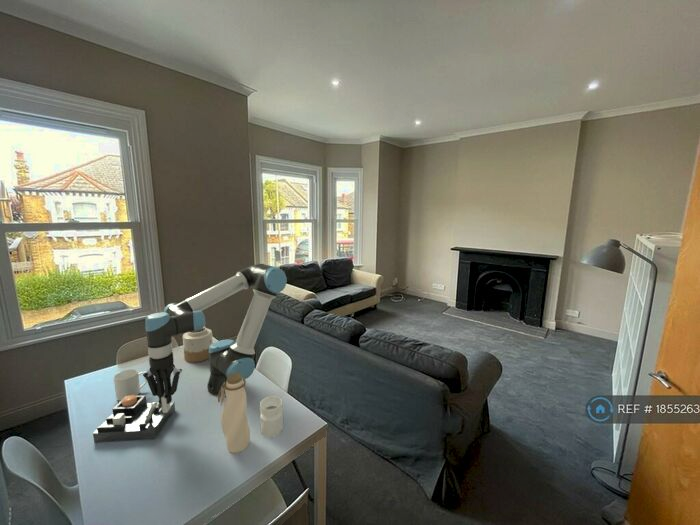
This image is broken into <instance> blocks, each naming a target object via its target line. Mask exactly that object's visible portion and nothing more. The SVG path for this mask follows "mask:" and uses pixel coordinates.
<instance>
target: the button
mask: <svg viewBox="0 0 700 525" xmlns="http://www.w3.org/2000/svg"><path fill="white" fill-rule="evenodd" d="M137 396H138V395H137ZM137 396H136V395H131V396H127V397H125V398H124V399H123V400H122V406H123V407H131V406H134V405H135V404H136V403H137Z"/></svg>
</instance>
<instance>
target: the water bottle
mask: <svg viewBox="0 0 700 525" xmlns="http://www.w3.org/2000/svg"><path fill="white" fill-rule="evenodd" d="M246 384H247V381H246V379H243V378H242V375H241V374H240V373H233V374H230V375H229V376H228V377H227V382H226V383H225V382H224V383H223V385H222V387H221V389H220V391H219V394H218V395H217V402H218V403H220V407H222V406H223V407H222V409H221V415H220V416H221V417H220V425H221V429H222V433H223V435H224V438H225V443H226V449H227V451H228V452H229V453H233V454H236V453H241V452H243V451H244V450H245V449H247V447H248V446H249V444H250V439H251V438H250V437H251V428H250V424H249V421H248V418H247V393H246V392H247V391H246V389H245V385H246ZM224 389H225V394H224ZM220 393H221V395H220ZM225 397H226V398H225ZM224 401H225V402H224Z"/></svg>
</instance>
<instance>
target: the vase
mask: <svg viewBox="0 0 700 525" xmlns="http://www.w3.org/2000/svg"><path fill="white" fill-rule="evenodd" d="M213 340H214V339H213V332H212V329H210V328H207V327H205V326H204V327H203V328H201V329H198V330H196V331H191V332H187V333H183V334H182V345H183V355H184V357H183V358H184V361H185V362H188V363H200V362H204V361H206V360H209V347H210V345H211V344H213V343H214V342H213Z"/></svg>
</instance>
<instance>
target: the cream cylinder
mask: <svg viewBox="0 0 700 525" xmlns="http://www.w3.org/2000/svg"><path fill="white" fill-rule="evenodd" d="M259 412H260V414H259V415H260V416H259V417H260V422H259V423H260V425H259V426H260V434H261V435H262V436H263V437H266V438H273V436H274V437H276V436H279V434H281V432H282V431H283V426H284V424H283V423H284V422H283V421H284V416H283V400H282V398H281V397H280V396H278V395H269V396H267V397H264V398H263V399H261V401H260V402H259Z"/></svg>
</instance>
